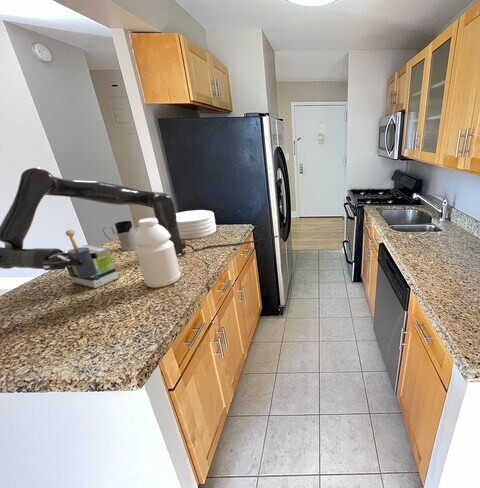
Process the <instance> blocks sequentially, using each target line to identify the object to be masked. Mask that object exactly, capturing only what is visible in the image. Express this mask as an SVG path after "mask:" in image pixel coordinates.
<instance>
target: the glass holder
mask: <svg viewBox="0 0 480 488" xmlns="http://www.w3.org/2000/svg"><path fill="white" fill-rule="evenodd" d="M114 226H115V229H116V232H115V230H114V229H113V228H112V227H111V226H105V227H103V228H102V232H103V234H104V236H105V237H106V238H107V240H109V241H110V242H111V241H112V242H113V243H116V244H119V245H120V247H121V248H120V249H121V251H131V250H135V249H136V247H137V246H138V245H137V244H135V243H134V241H133V240H134V235H135V233H136V231H135V229H134V225H133V223H132V220H123V221H118V222H115V223H114ZM107 228H108V229H111V231H112V233H113V234H116V235H117V237H118V240H119V241H115V240H113V239H111V238H110V237H108V236H107V234H106V233H105V229H107Z"/></svg>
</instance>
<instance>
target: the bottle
mask: <svg viewBox="0 0 480 488" xmlns="http://www.w3.org/2000/svg"><path fill="white" fill-rule="evenodd" d="M137 223H138V226H139V227H137V229H136V231H135V235H134V240H133V241H134V243H135V244H137V245H138V246H137V247H136V249H134V252H135V254H136V255H135V256H136V257H137V260H138V264H139V268H140V271H141V274H142V277H143V282H144V284H145V286H147V287H148V288H155V289H156V288H162V287H166V286H170V285H172V284H174V283H176V282H178V281H179V280H180V279H181V276H182V274H181V273H182V272H181V271H180V266H179V261H178V256H176V253H175V248H174V244H173V242H172V241H170V240H169V238H170V237H171V235H170V233H169V232H168V231H167V230H166V229H165V228H164V227H163V226H161V225H159V224H157V223H158V220H157V218H155V217H146V218H140V219H138V221H137Z"/></svg>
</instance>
